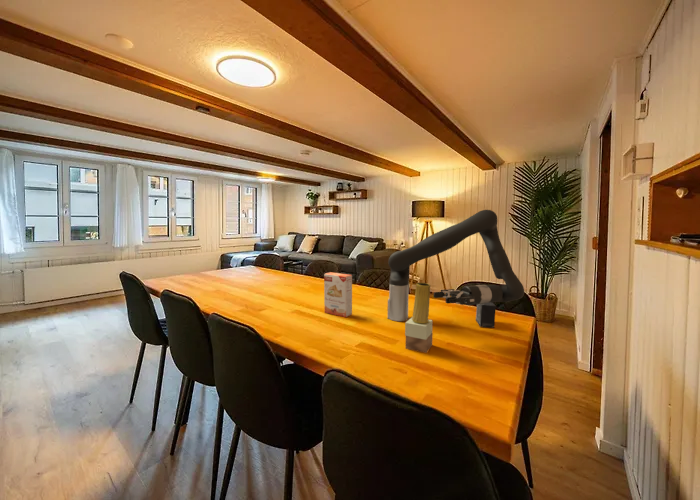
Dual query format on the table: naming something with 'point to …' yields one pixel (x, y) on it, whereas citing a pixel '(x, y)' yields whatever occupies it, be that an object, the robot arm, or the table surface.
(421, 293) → the vase
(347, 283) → the cracker box
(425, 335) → the tower top block
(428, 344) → the tower base block
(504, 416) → the table surface
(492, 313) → the small box
